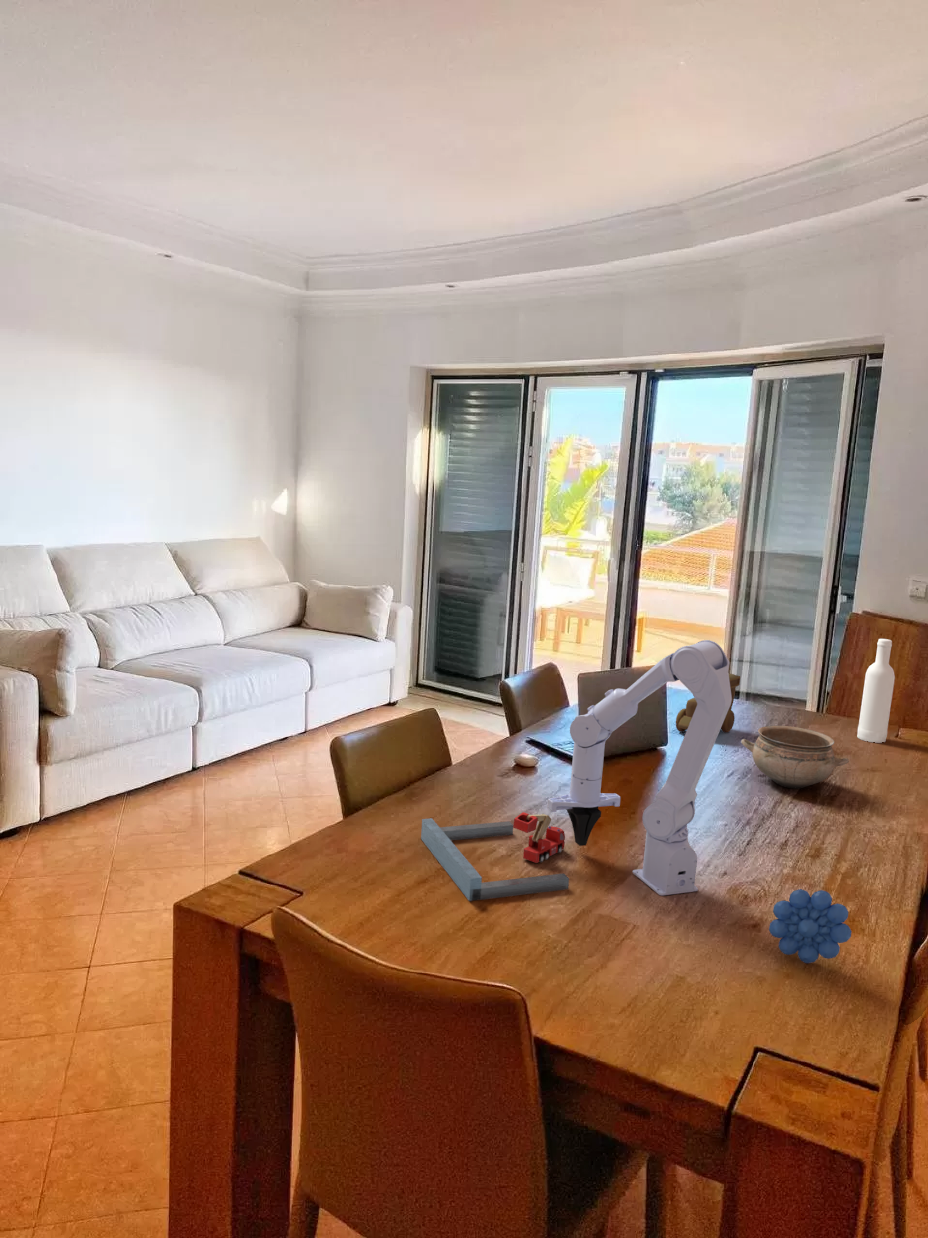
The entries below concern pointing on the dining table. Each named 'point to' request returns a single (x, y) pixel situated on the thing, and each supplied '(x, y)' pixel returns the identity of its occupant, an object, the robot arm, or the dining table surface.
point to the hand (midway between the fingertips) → (580, 843)
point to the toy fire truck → (540, 836)
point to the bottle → (877, 696)
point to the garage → (465, 872)
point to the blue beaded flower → (810, 925)
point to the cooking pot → (793, 755)
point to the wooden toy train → (687, 713)
